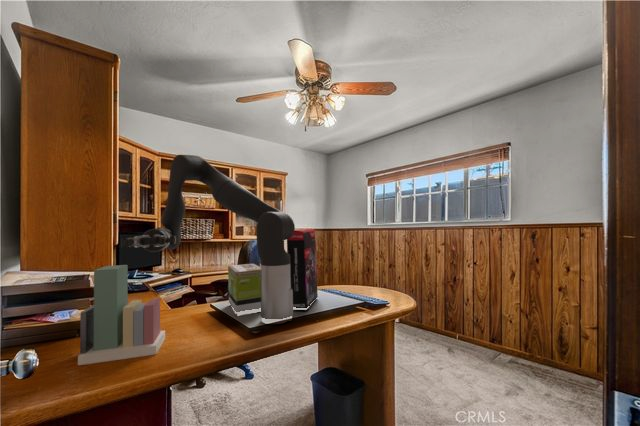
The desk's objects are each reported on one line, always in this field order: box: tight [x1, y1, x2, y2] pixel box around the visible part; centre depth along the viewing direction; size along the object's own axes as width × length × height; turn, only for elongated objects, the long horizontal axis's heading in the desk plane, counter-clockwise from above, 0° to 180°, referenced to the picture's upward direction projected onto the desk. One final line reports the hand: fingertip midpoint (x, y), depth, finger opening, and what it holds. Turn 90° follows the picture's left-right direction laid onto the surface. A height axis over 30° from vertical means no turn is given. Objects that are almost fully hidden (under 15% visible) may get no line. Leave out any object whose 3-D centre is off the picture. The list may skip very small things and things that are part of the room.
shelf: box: [77, 297, 166, 366], centre depth 69 cm, size 15×10×11 cm, turn 108°
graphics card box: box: [286, 228, 319, 308], centre depth 104 cm, size 17×7×27 cm, turn 168°
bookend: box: [79, 304, 94, 355], centre depth 67 cm, size 1×8×9 cm, turn 18°
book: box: [93, 264, 129, 351], centre depth 69 cm, size 4×7×18 cm, turn 17°
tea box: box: [227, 263, 261, 312], centre depth 101 cm, size 15×10×15 cm, turn 27°
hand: (144, 242), depth 83 cm, fingers open, 8 cm apart
